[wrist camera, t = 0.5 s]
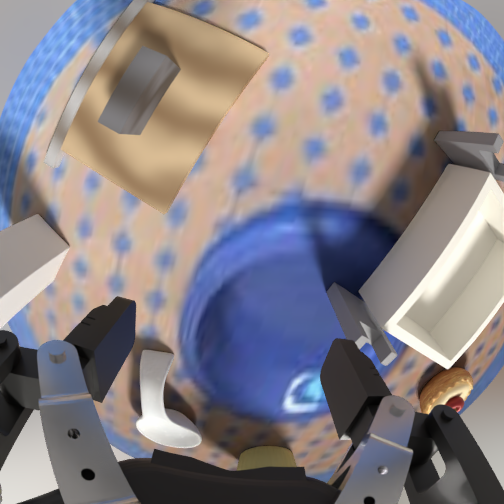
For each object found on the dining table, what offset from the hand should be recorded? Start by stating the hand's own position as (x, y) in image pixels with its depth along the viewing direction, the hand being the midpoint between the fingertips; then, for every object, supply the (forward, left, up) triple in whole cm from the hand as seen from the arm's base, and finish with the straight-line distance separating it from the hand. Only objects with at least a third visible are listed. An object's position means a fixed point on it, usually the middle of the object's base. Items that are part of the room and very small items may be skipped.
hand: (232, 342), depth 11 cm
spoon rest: (+33, +5, -21) cm, 40 cm away
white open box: (-10, +23, -21) cm, 32 cm away
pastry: (+6, +49, -21) cm, 53 cm away
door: (-6, -15, -21) cm, 27 cm away
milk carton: (+18, -21, -21) cm, 35 cm away
